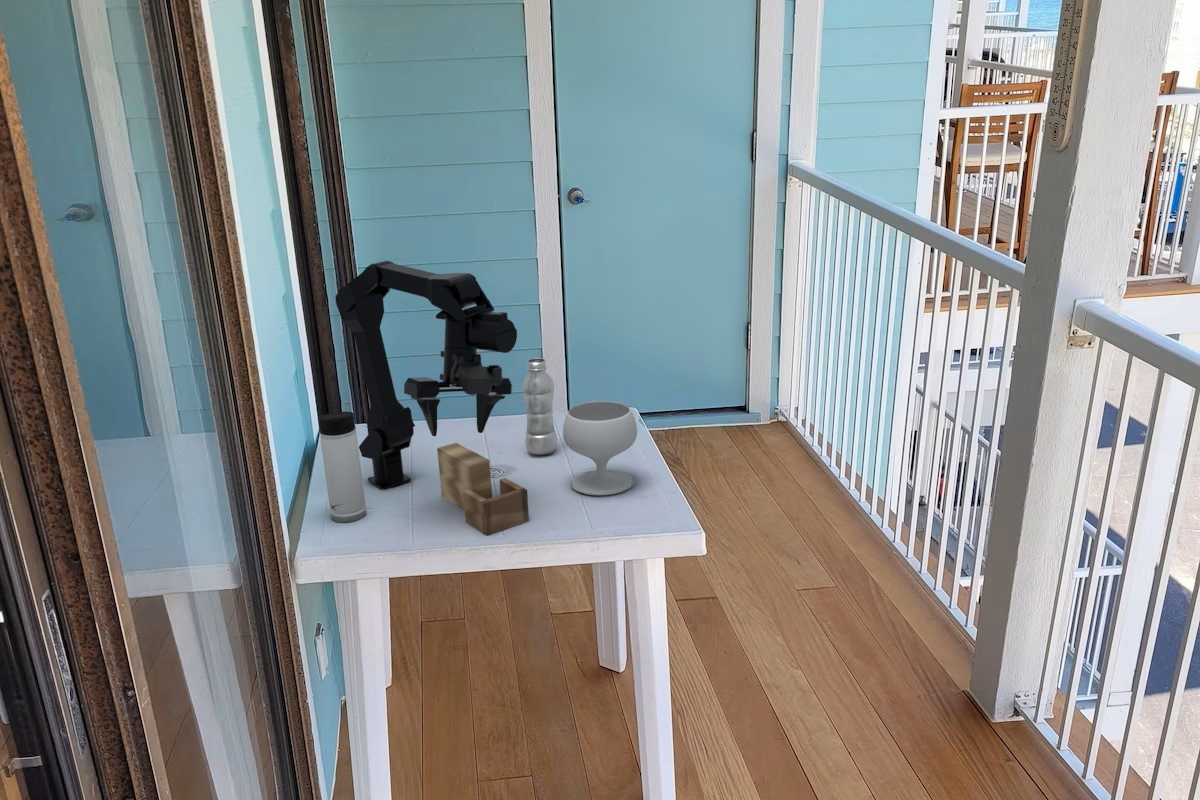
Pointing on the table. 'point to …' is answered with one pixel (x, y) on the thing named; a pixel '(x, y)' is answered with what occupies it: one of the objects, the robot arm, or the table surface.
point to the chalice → (600, 443)
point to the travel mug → (342, 466)
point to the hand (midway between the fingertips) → (457, 434)
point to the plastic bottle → (539, 408)
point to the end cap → (497, 508)
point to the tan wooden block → (463, 473)
